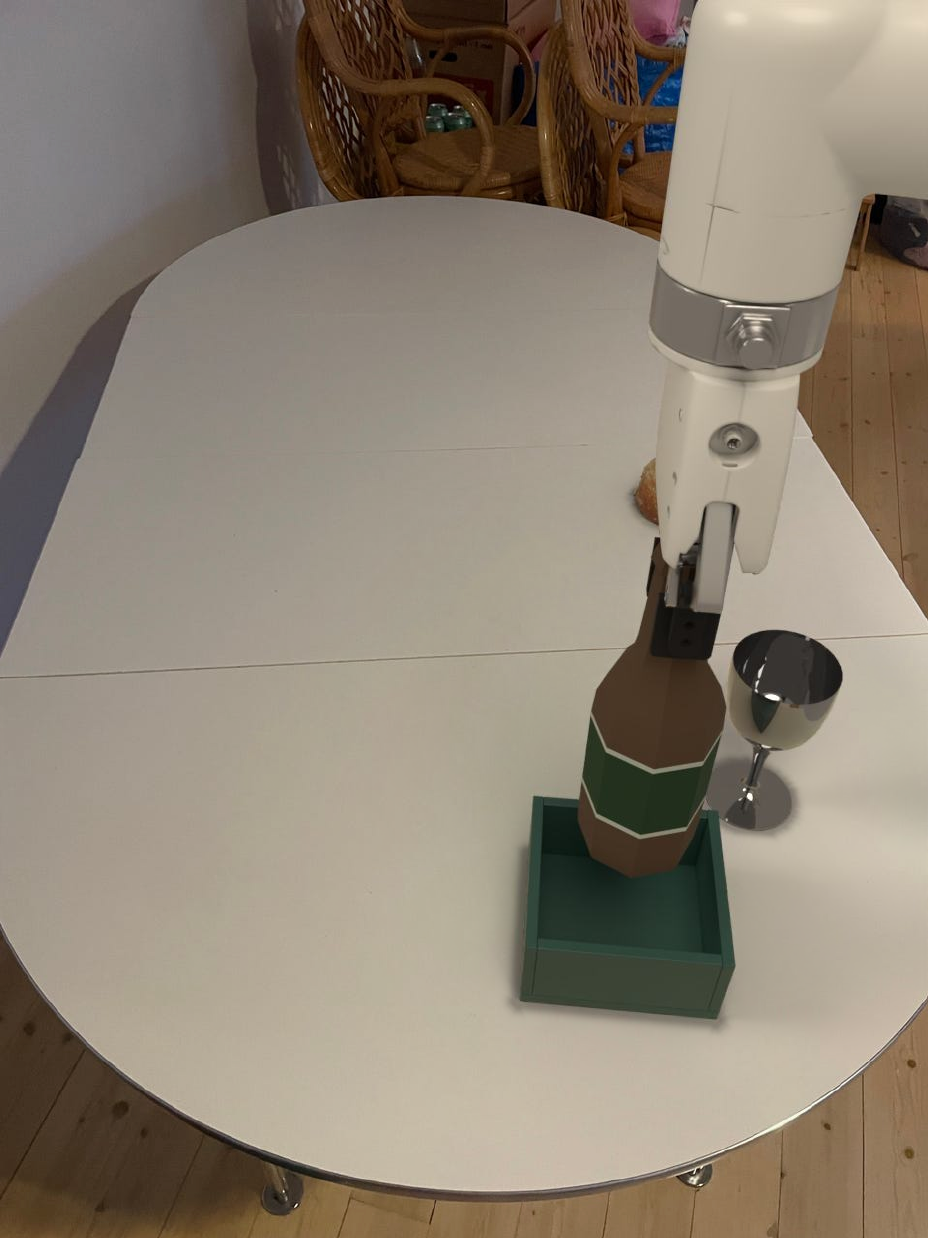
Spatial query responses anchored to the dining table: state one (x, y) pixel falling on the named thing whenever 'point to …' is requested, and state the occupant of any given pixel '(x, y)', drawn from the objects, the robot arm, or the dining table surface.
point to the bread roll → (648, 492)
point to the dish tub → (624, 923)
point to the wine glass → (771, 720)
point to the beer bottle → (649, 751)
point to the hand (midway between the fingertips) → (677, 623)
